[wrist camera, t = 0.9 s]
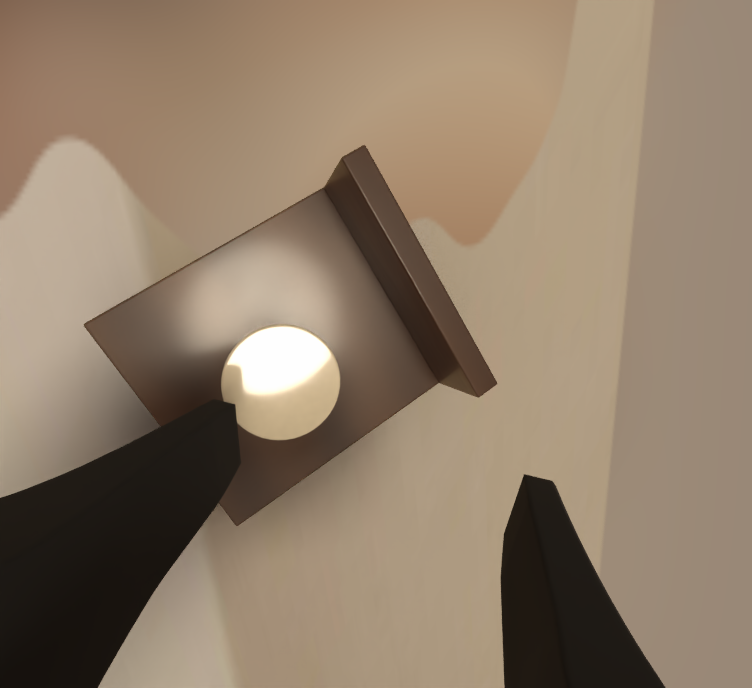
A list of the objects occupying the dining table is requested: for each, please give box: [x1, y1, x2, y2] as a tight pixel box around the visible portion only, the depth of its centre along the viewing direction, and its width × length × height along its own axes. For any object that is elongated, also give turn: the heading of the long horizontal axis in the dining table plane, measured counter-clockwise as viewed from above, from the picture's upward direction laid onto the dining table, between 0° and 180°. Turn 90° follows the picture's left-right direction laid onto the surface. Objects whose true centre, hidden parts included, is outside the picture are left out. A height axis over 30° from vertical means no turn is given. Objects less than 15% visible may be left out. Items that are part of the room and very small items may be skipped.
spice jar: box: [221, 322, 340, 440], centre depth 19 cm, size 4×4×7 cm
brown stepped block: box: [84, 145, 497, 526], centre depth 21 cm, size 14×12×7 cm
